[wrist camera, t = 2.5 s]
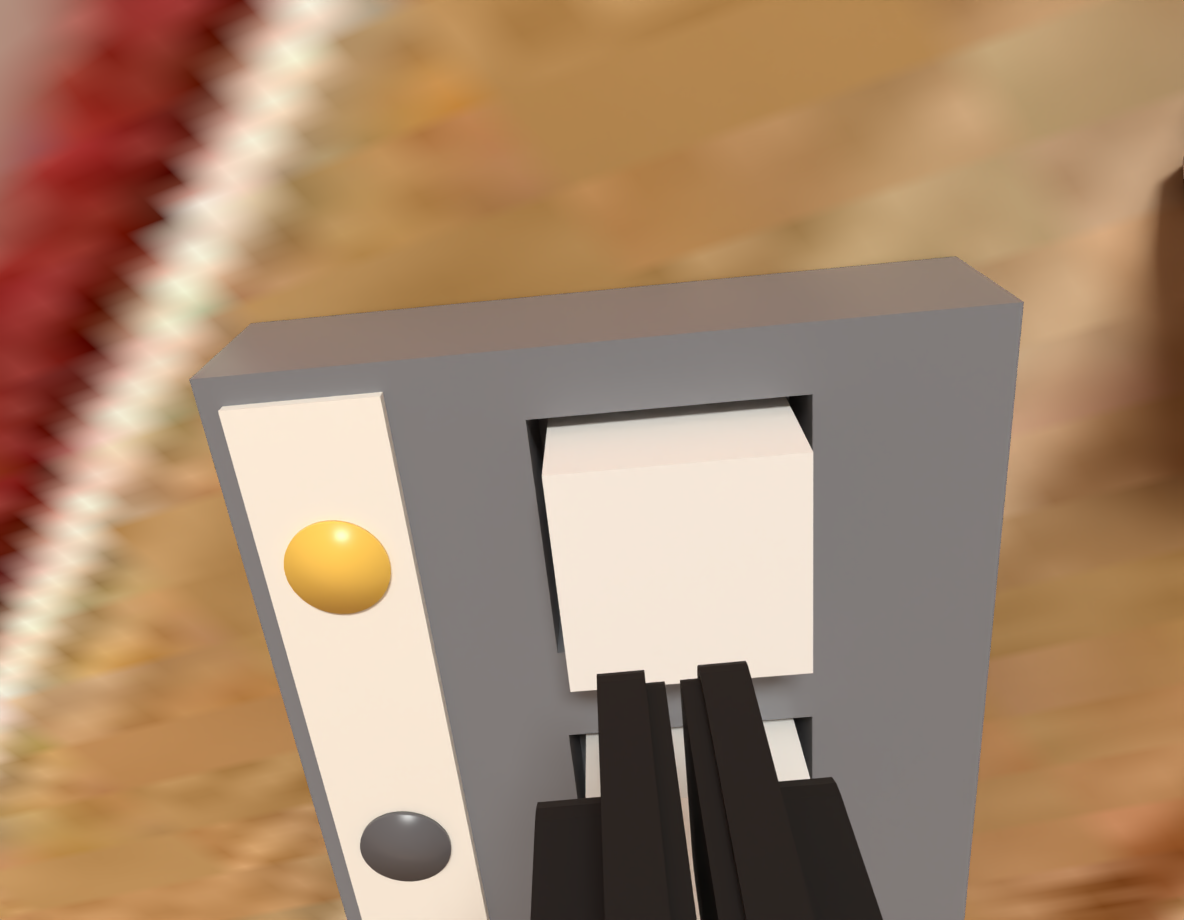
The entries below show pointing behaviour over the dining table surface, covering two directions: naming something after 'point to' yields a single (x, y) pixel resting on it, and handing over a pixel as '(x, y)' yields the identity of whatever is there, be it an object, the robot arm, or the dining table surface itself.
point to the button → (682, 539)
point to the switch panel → (526, 571)
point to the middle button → (780, 743)
